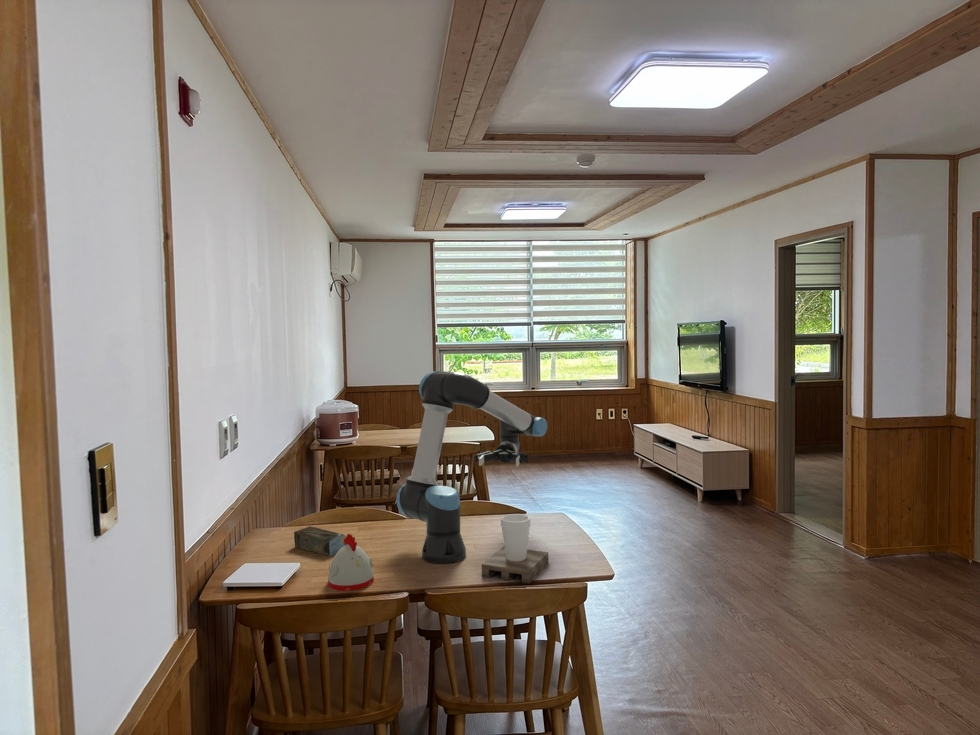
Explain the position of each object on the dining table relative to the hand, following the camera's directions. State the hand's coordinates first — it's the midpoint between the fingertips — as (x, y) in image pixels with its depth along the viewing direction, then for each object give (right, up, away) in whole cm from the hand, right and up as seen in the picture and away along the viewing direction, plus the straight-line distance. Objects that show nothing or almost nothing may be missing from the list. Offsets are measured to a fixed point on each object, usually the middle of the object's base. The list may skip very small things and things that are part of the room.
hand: (498, 462), depth 228 cm
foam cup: (+5, -27, -25) cm, 37 cm away
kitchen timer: (-46, -33, -32) cm, 65 cm away
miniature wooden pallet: (+5, -31, -25) cm, 40 cm away
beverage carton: (-65, -32, 0) cm, 72 cm away
